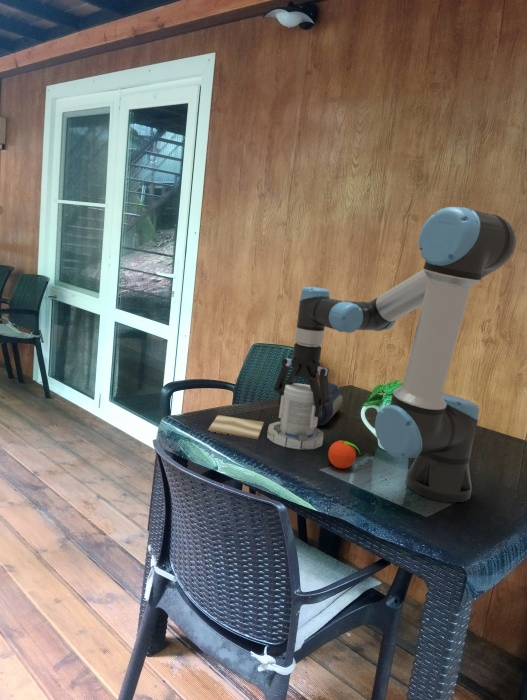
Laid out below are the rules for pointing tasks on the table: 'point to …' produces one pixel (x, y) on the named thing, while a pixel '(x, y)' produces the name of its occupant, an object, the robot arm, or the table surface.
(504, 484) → the table surface
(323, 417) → the portable speaker
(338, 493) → the table surface
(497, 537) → the table surface
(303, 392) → the supplement tub
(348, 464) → the clementine
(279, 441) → the collar
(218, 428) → the mat
